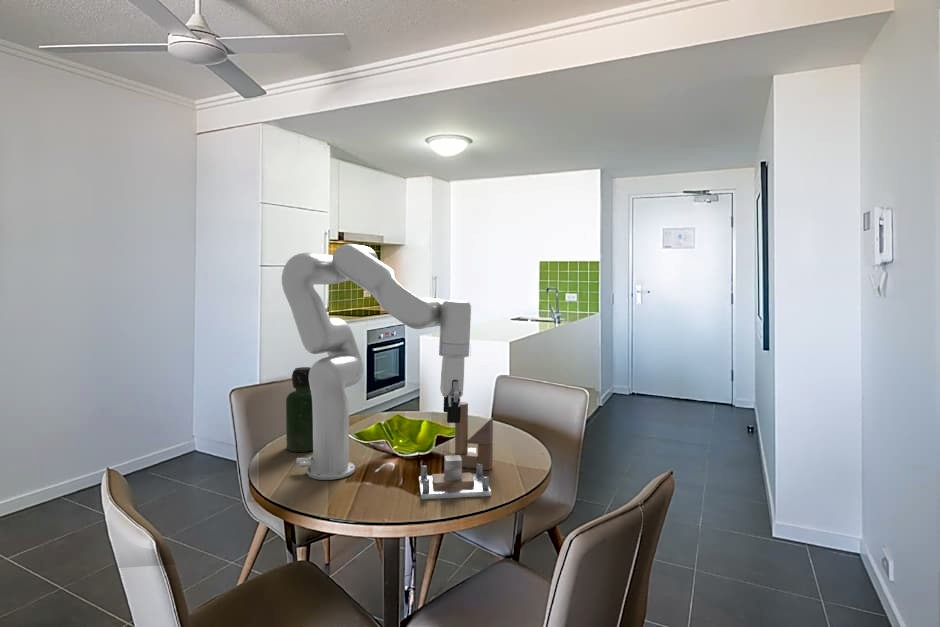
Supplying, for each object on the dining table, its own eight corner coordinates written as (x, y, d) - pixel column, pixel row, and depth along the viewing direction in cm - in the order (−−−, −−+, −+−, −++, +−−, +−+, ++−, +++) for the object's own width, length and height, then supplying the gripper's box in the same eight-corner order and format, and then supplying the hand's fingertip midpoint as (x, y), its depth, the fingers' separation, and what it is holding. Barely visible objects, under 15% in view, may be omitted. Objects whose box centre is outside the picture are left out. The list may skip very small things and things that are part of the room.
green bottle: (321, 441, 172) (321, 365, 170) (321, 451, 162) (320, 370, 160) (288, 444, 169) (287, 366, 168) (285, 454, 159) (284, 371, 158)
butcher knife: (456, 467, 150) (456, 463, 150) (460, 450, 165) (460, 447, 165) (474, 467, 150) (474, 463, 150) (476, 450, 165) (476, 447, 165)
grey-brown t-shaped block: (433, 488, 130) (434, 462, 130) (432, 479, 136) (432, 454, 135) (474, 487, 131) (474, 461, 131) (470, 478, 137) (471, 453, 137)
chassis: (421, 499, 126) (421, 482, 126) (419, 480, 138) (419, 464, 138) (491, 495, 129) (491, 479, 129) (483, 477, 141) (483, 462, 140)
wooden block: (489, 470, 146) (490, 406, 145) (452, 467, 149) (453, 404, 148) (492, 466, 150) (493, 403, 149) (456, 462, 153) (456, 401, 152)
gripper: (436, 344, 140) (434, 408, 141) (442, 354, 123) (439, 426, 124) (464, 345, 141) (462, 408, 142) (474, 355, 124) (471, 427, 125)
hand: (451, 417), depth 133 cm, fingers open, 9 cm apart
